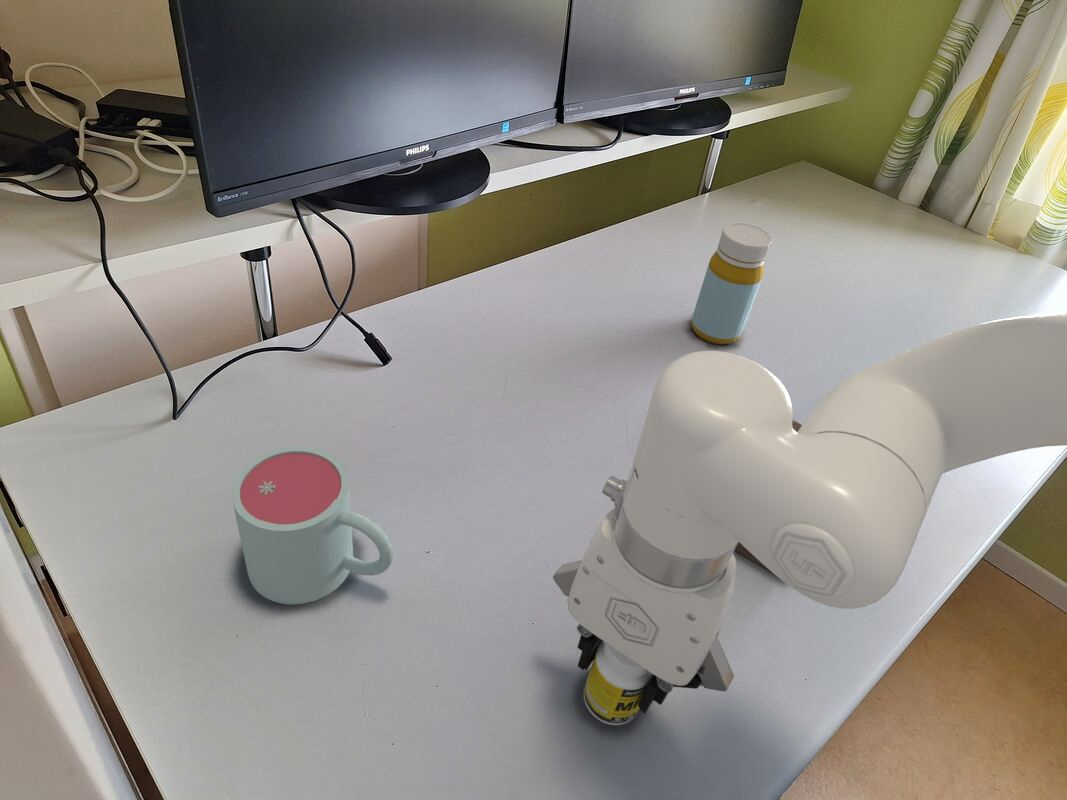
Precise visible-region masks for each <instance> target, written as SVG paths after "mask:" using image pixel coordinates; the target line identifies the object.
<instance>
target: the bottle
mask: <svg viewBox="0 0 1067 800" xmlns="http://www.w3.org/2000/svg"><path fill="white" fill-rule="evenodd" d="M772 243H773V237H772V235H771V234H770V233H769V232H768V231H767V230H766V229H764V228H763V227H760V226H758V225H755V224H752V223H749V222H742V221H735V222H730V223H727V224H726V225H725V226H724V227H723V228H722V231H721V235H720V238H719V241H718V245H717V248H716V250H715V252H714V253H713V255H712V256H711V257H710V259H709V261H708V265H707V267H706V271H705V274H704V278H703V281H702V283H701V287H700V291H699V294H698V296H697V301H696V303H695V307H694V310H693V313H692V317H691V320H690V324H691V328H692V329H693V331H694V332H695V334H696V335H697V336H698V337H699V338H701V339H702V340H703V341H706V342H709V343H711V344H715V345H728V344H731V343H733V342H736V341H738V340H739V339H740V338H741V337H742V334H743V332H744V330H745V326H746V324H747V321H748V318H749V316H750V313H751V310H752V308H753V305H754V303H755V300H756V297H757V294H758V291H759V289H760V286H761V284H762V280H763V279H764V278H763V277H764V274H765V265H764V264H765V261H766V259H767V256H768V254H769V252H770V248H771V246H772Z"/></svg>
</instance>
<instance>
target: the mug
mask: <svg viewBox="0 0 1067 800" xmlns="http://www.w3.org/2000/svg"><path fill="white" fill-rule="evenodd" d="M349 480H350V479H349V474H348V472H347V470H346V467H345V465H344V464H343V463H342V462H341V461H340V460H339V459H338V457H335V456H334V455H332V454H331V453H329V452H328V451H325V450H322V449H319V448H316V447H311V446H302V445H296V446H295V445H294V446H293V445H292V446H285V447H280V448H275V449H273V450H269V451H267V452H264V453H262V454H260V455H259V456H257V457H255V458H254V459H252V460H251V461H249V462H248V463H247V464H246V465H245V466H243V468H242V469H241V470H240V471H239V473H238V474H237V476H236V477H235V479H234V481H233V484H232V487H231V500H232V506H233V510H234V514H235V519H236V524H237V530H238V534H239V539H240V542H241V549H242V552H243V557H244V562H245V566H246V571H247V576H248V579H249V582H250V584H251V585H252V587H253V589H254V590H255V591H256V592H257V593H258V594H259V595H261V596H262V597H264V598H265V599H266V600H269V601H271V602H274V603H278V604H283V605H303V604H308V603H309V604H310V603H312V602H316V601H319V600H321V599H323V598H325V597H327V596H329V595H330V594H332V593H333V592H335V591H336V590H337V589H338V588H339V587H340V586H341V585H342V584H343V583H344V582H345V580H346V579H347V578H348V576H349V574H350V572H351V573H353V574H358V575H361V576H376V575H381V574H382V573H384V572H386V571H388V569H389V567H390V566H391V565H392V563H393V559H394V550H393V545H392V542H391V541H390V539H389V537H388V536H387V535H386V533H385V532H384V530H383V529H382V528H381V527H379V526H378V525H377V524H376V523H375V522H374V521H372V520H370V519H369V518H368V517H366V516H364V515H361V514H359V513H358V512H353V511H351V495H350V481H349ZM352 528H354V529H355V530H358V531H359V532H361V533H362V534H364V535H365V536H366V537H367V538H369V539H370V540H371V541H372V542H373V543H374V545H375V547H376V548H377V549H378V553H379V558H378V559H377V560H374V561H366V560H362V559H359V558H356V557H354V547H353V529H352Z"/></svg>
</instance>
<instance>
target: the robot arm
mask: <svg viewBox="0 0 1067 800" xmlns="http://www.w3.org/2000/svg"><path fill="white" fill-rule="evenodd" d="M793 415H794V414H793V403H792V400H791V397H790V395H789V393H788V391H787V389H786V388H785V385H784V384H783V383H782V382H781V380H780V379H779V378H778V377H776V375H774V374H773V373H772V372H771V371H770V370H768V369H767V368H765V367H764V366H763V365H761V364H760V363H758V362H756V361H754V360H751V359H749V358H747V357H745V356H742V355H739V354H736V353H731V352H727V351H720V350H702V351H694V352H690V353H688V354H685V355H682V356H681V357H678V358H677V359H676V360H673V361H672V362H671V363H670V364H669V365H668V366H667V367H666V368H665V369H663V371H662V372H661V375H660V376H659V377H658V380H657V382H656V384H655V387H654V390H653V393H652V395H651V399H650V403H649V406H648V410H647V413H646V416H645V420H644V424H643V427H642V430H641V434H640V437H639V440H638V444H637V447H636V450H635V454H634V458H633V461H632V465H631V468H630V471H629V475H628V477H627V480H625V479H621V480H620V479H619V478H618V477H616V476H613V475H611V476H610V477H609V478H608V479H607V480H606V482H605V484H604V485H603V488H602V492H601V493H602V494H603V495H605V496H607V497H608V498H610V501H611V502H612V503H613V504H614V508H613V509H612V510H610V511H609V512H608V513H607V514H605V516H604V518H603V519H602V520H601V521H600V523H599V525H598V527H597V528H596V529H595V532H594V533H593V535H592V538H591V539H590V541H589V543H588V545H587V548H586V550H585V552H584V554H583V556H582V559H579V560H577V561H573V562H572V561H571V562H568V563H564V564H562V565H561V566H560V567H559V568H558V569H557V570H556V571H555V572H554V574H553V575H552V579H553V581H554V582H555V584H557V586H558V588H559V589H560V591H561V592H562V594H563V595H564V596H566V597H567V609H568V612H569V614H570V615H571V616H572V618H573V619H574V620H575V621H576V622H577V623H578V625H577V626H576V630H577V632H578V633H579V634H580V637H579V641H578V644H577V649H578V650H579V651H581V653H580V656H579V660H578V663H577V668H579V669H580V670H582V671H584V670H585V671H587V670H588V668H589V667H590V666H591V665H592V664H593V661H594V658H595V655H596V651H597V649H598V647H599V645H600V644H601V642H602V641H604V642H606V643H607V644H609V645H610V646H612V647H613V648H615V649H616V650H618V651H619V652H620V653H622V654H623V655H625V656H626V657H628V658H629V659H631V660H632V661H634V662H635V663H637V664H638V665H640V666H641V667H643V668H645V669H646V670H648V671H649V672H651V673H652V674H653V676H652V678H651V679H650V681H649V682H648V684H647V686H646V689H645V691H644V693H643V696H642V698H641V700H640V703H639V705H638V707H639V708H640V709H639V711H641V713H643V714H646V713H647V711H648V710H649V708H650V707H651V706H652V704H653V702H655V703H657V704H658V705H660V706H662V705H663V704H664V702H665V700H666V698H667V696H668V694H669V693H671V692H672V691H673V690H674V688H681V689H682V688H684V689H694V690H695V689H696V690H697V689H698V688H700V687H703V688H704V689H707V690H713V691H719V692H726V691H728V689H729V687H730V685H731V683H732V681H733V680H734V678H735V674H734V672H733V670H732V667H731V664H730V663H729V660H728V658H727V656H726V653H725V652H724V649H723V647H722V645H721V642H720V640H719V637H718V636H719V633H720V630H721V628H722V625H723V622H724V620H725V618H726V615H727V612H728V609H729V606H730V602H731V598H732V595H733V591H734V586H735V580H736V573H737V571H736V570H737V560H736V556H735V555H734V552H735V551H734V550H735V548H736V546H737V544H738V542H740V543H741V544H742V545H743V546H744V547H745V548H746V549H747V550H748V551H749V552H750V553H751V554H753V555H754V556H755V557H756V558H757V559H758V560H759V561H760V562H761V563H762V564H763V565H765V566H766V567H767V568H768V569H769V570H770V571H769V570H768V569H767V570H768V571H769V572H771V573H772V574H773V575H775V577H777V578H778V579H780V580H781V581H782V582H783V583H785V584H786V585H787V586H789V587H790V588H791V589H793V590H794V591H796V592H798V593H799V594H801V595H802V596H804V597H805V598H808V599H810V600H812V601H815V602H817V603H818V604H822V605H824V606H828V607H832V608H836V609H845V610H846V609H847V610H848V609H849V610H850V609H851V610H853V609H854V610H855V609H859V608H866V607H867V606H870V605H872V604H874V603H877V602H879V601H880V600H882V598H884V597H885V596H887V595H888V594H889V593H890V591H891V590H892V589H893V588H894V587H895V586H896V584H897V583H898V581H899V579H900V577H901V575H902V574H903V572H904V570H905V567H906V565H907V562H908V561H909V557H910V555H911V552H912V550H913V547H914V545H915V542H916V540H917V537H918V534H919V532H920V530H921V527H922V524H923V522H924V520H925V517H926V515H927V512H928V509H929V506H930V505H931V502H932V499H933V497H934V494H935V492H936V489H937V487H938V485H939V482H940V480H941V478H942V476H943V474H945V473H948V472H950V471H953V470H956V469H959V468H962V467H966V466H969V465H973V464H975V463H980V462H982V461H986V460H990V459H994V458H996V457H999V456H1000V457H1001V456H1004V455H1008V454H1011V453H1016V452H1021V451H1026V450H1031V449H1037V448H1043V447H1044V448H1045V447H1061V446H1067V310H1060V311H1053V312H1049V313H1047V312H1046V313H1041V314H1040V313H1039V314H1035V315H1027V316H1018V317H1012V318H1011V317H1010V318H1003V319H1002V318H1001V319H997V320H992V321H987V322H984V323H980V324H976V325H973V326H968V327H965V328H962V329H959V330H957V331H953V332H951V333H948V334H945V335H943V336H940V337H937V338H935V339H933V340H929V341H928V342H925V343H923V344H921V345H918V346H916V347H913V348H910V349H908V350H906V351H904V352H902V353H899V354H896V355H894V356H891V357H889V358H887V359H885V360H883V361H880V362H878V363H876V364H873V365H871V366H869V367H867V368H864V369H862V370H860V371H858V372H856V373H855V374H853V375H851V376H848V377H847V378H846V379H844V380H843V381H841V382H840V383H838V384H837V385H836V386H834V387H833V388H832V389H830V391H828V392H827V393H826V394H825V395H824V396H822V398H821V399H820V400H819V401H818V403H817V404H816V406H814V408H813V409H812V411H811V412H810V414H809V415H808V416H807V418H806V419H805V420H804V422H803V423H802V426H801V428H800V429H799V431H798V432H796V431H795V430H794V429H793V427H792V420H793V419H794V417H793Z"/></svg>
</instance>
